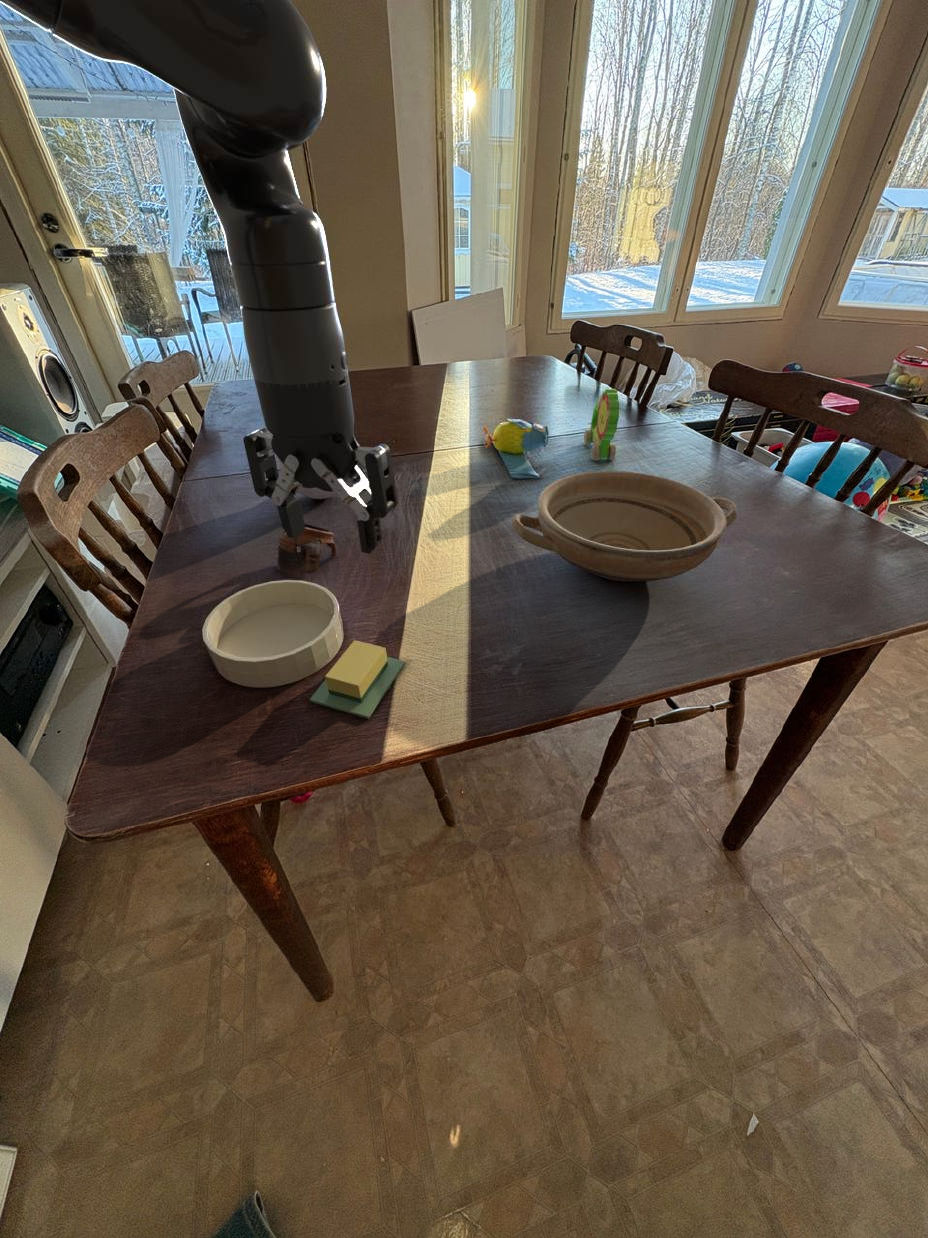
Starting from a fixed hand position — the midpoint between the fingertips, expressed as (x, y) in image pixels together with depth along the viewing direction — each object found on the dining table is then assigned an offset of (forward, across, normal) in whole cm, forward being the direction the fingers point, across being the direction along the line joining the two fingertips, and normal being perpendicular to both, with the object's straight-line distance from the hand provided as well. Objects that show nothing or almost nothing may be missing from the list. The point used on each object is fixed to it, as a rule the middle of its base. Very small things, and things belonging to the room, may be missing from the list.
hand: (333, 542), depth 52 cm
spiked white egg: (+20, -35, +48) cm, 63 cm away
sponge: (+20, 0, 0) cm, 20 cm away
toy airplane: (+20, -2, +80) cm, 83 cm away
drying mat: (+20, 0, 0) cm, 20 cm away
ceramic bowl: (+20, +27, +40) cm, 52 cm away
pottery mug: (+20, -21, +21) cm, 36 cm away
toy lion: (+20, +17, +88) cm, 92 cm away
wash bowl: (+20, -14, +3) cm, 25 cm away
